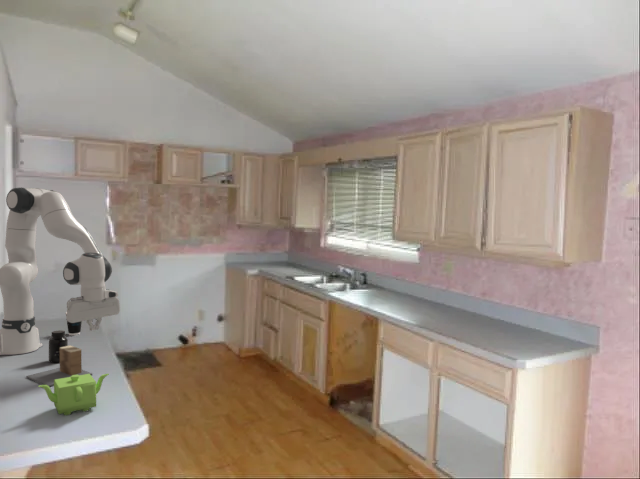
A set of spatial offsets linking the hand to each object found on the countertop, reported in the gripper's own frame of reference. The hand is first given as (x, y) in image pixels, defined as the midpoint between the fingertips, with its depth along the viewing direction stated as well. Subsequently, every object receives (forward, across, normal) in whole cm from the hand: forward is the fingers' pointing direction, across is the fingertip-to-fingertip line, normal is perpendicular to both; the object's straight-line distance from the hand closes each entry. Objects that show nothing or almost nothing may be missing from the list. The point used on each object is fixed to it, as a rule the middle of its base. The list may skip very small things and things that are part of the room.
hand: (94, 329), depth 189 cm
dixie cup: (+15, +22, +55) cm, 61 cm away
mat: (+15, -14, +1) cm, 20 cm away
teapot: (+15, -26, -32) cm, 44 cm away
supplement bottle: (+15, -4, +20) cm, 25 cm away
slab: (+14, -10, 0) cm, 17 cm away
